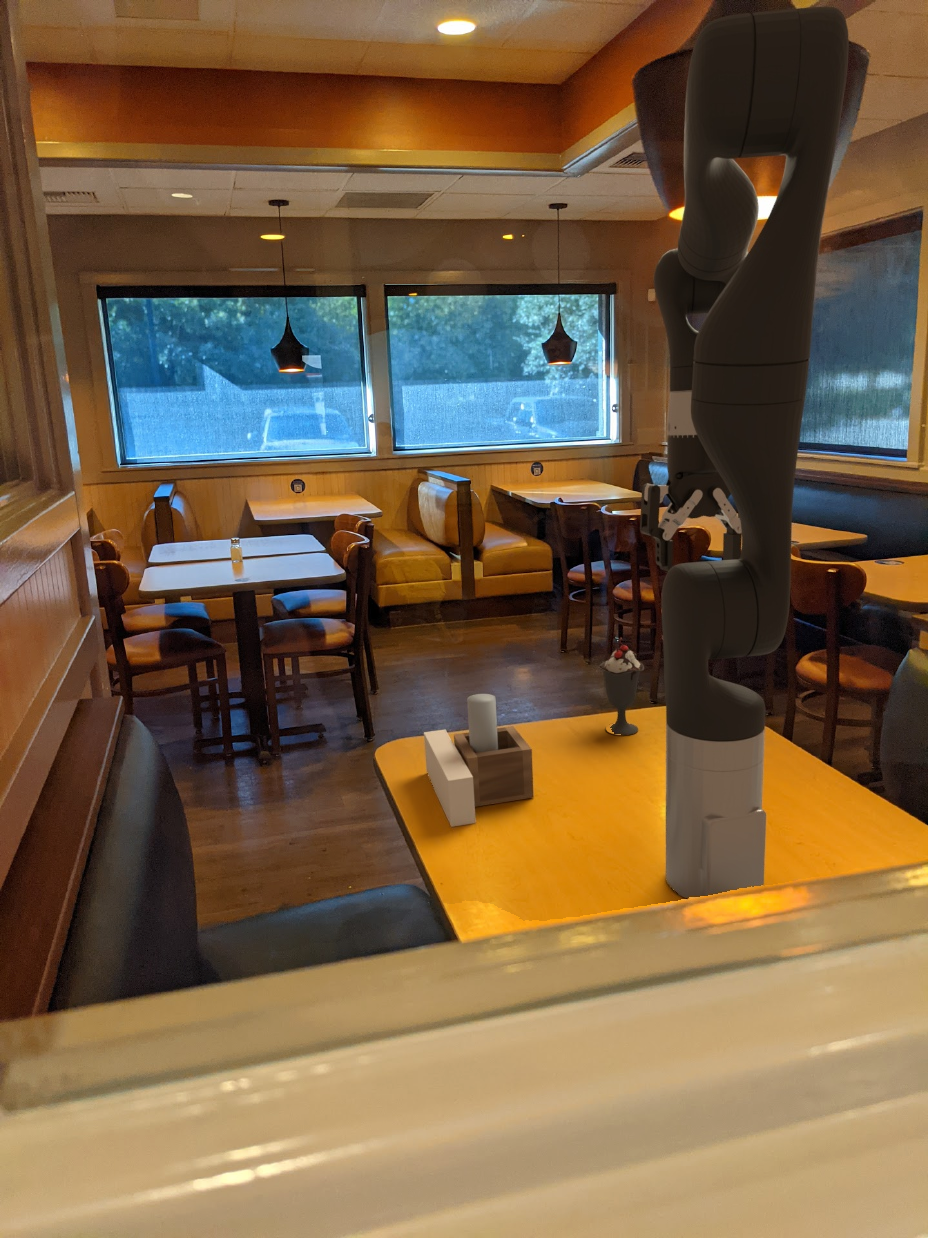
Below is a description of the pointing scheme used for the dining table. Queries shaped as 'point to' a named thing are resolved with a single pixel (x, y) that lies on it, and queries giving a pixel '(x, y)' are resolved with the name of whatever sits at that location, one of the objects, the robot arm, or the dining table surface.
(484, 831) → the dining table surface
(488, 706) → the gray cylinder
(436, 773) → the rail
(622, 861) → the dining table surface
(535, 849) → the dining table surface
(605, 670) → the sundae
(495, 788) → the open wooden box
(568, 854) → the dining table surface
